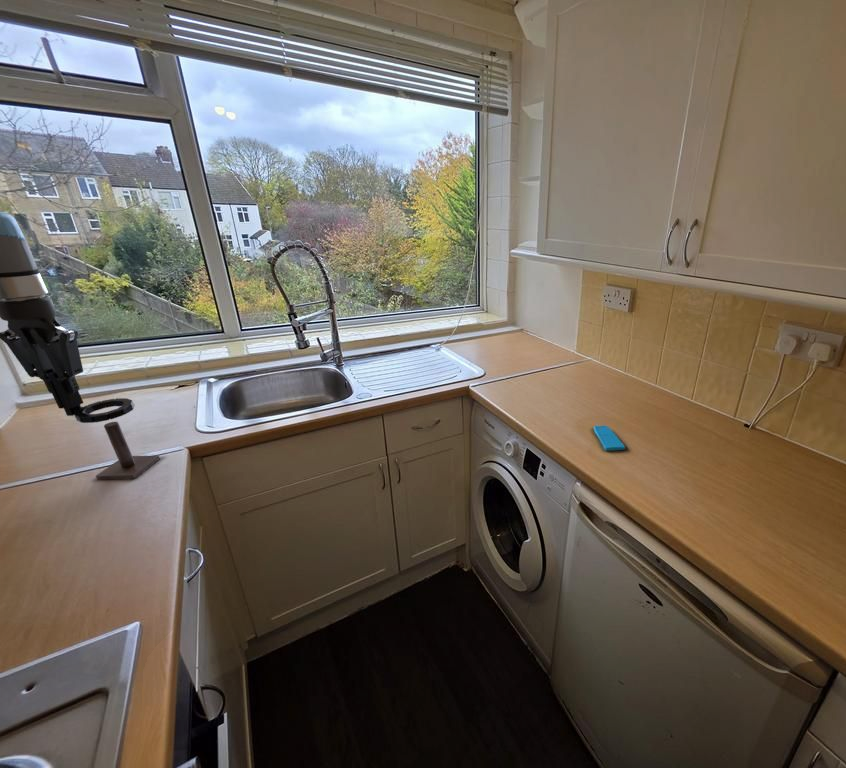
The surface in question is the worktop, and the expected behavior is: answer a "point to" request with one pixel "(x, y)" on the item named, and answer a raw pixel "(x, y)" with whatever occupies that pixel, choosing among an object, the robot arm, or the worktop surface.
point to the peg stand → (124, 457)
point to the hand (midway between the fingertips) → (71, 405)
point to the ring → (93, 406)
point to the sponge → (608, 438)
